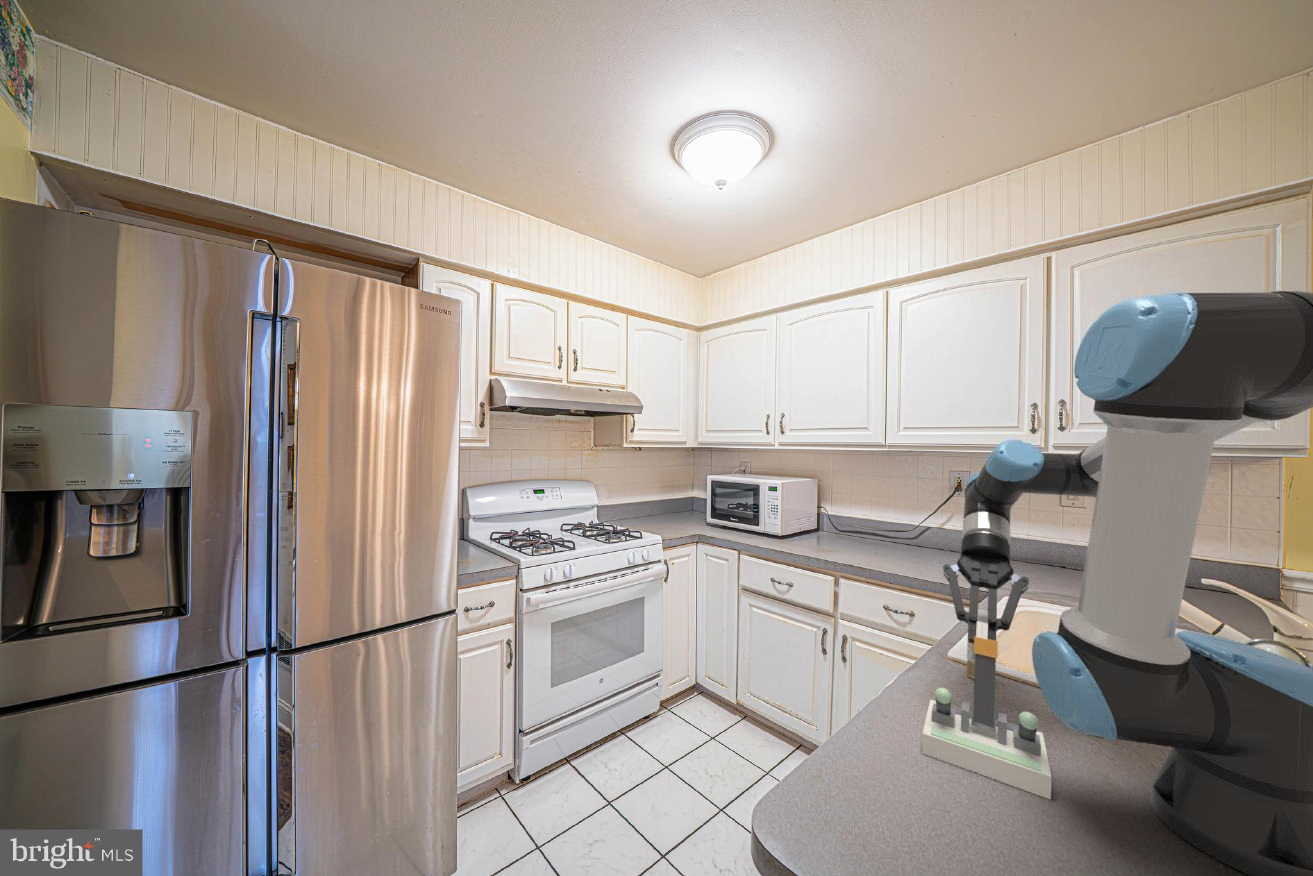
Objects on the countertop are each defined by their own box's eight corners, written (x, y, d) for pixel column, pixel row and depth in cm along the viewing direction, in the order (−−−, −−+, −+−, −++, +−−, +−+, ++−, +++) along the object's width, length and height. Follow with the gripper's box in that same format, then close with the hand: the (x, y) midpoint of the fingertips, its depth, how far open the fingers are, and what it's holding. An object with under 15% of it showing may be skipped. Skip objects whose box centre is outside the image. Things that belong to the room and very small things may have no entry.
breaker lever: (995, 731, 72) (997, 641, 75) (995, 734, 70) (997, 642, 73) (971, 723, 73) (974, 636, 76) (971, 726, 71) (974, 636, 74)
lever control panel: (1042, 752, 72) (1043, 693, 72) (1050, 799, 62) (1052, 731, 63) (929, 716, 81) (931, 664, 81) (921, 753, 71) (923, 693, 71)
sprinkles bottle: (996, 680, 95) (999, 613, 95) (986, 686, 92) (989, 617, 92) (971, 670, 99) (973, 606, 99) (961, 675, 96) (963, 610, 96)
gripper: (1027, 559, 88) (1030, 686, 74) (945, 548, 95) (934, 661, 82) (1030, 535, 83) (1034, 666, 70) (944, 525, 91) (932, 641, 77)
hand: (980, 663), depth 76 cm, fingers closed
